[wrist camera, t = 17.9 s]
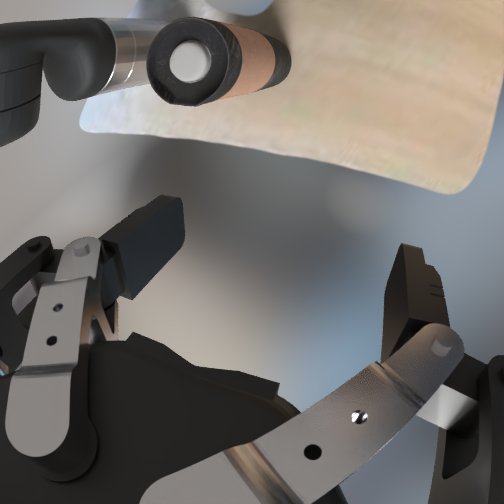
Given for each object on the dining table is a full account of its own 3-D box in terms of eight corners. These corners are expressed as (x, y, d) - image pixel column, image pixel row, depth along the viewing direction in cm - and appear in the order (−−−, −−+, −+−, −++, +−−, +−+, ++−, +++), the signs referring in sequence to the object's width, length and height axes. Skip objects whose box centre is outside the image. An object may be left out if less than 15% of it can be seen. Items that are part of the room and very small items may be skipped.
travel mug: (269, 24, 32) (190, -3, 17) (305, 68, 34) (252, 66, 19) (227, 58, 37) (129, 62, 21) (260, 99, 39) (180, 127, 23)
